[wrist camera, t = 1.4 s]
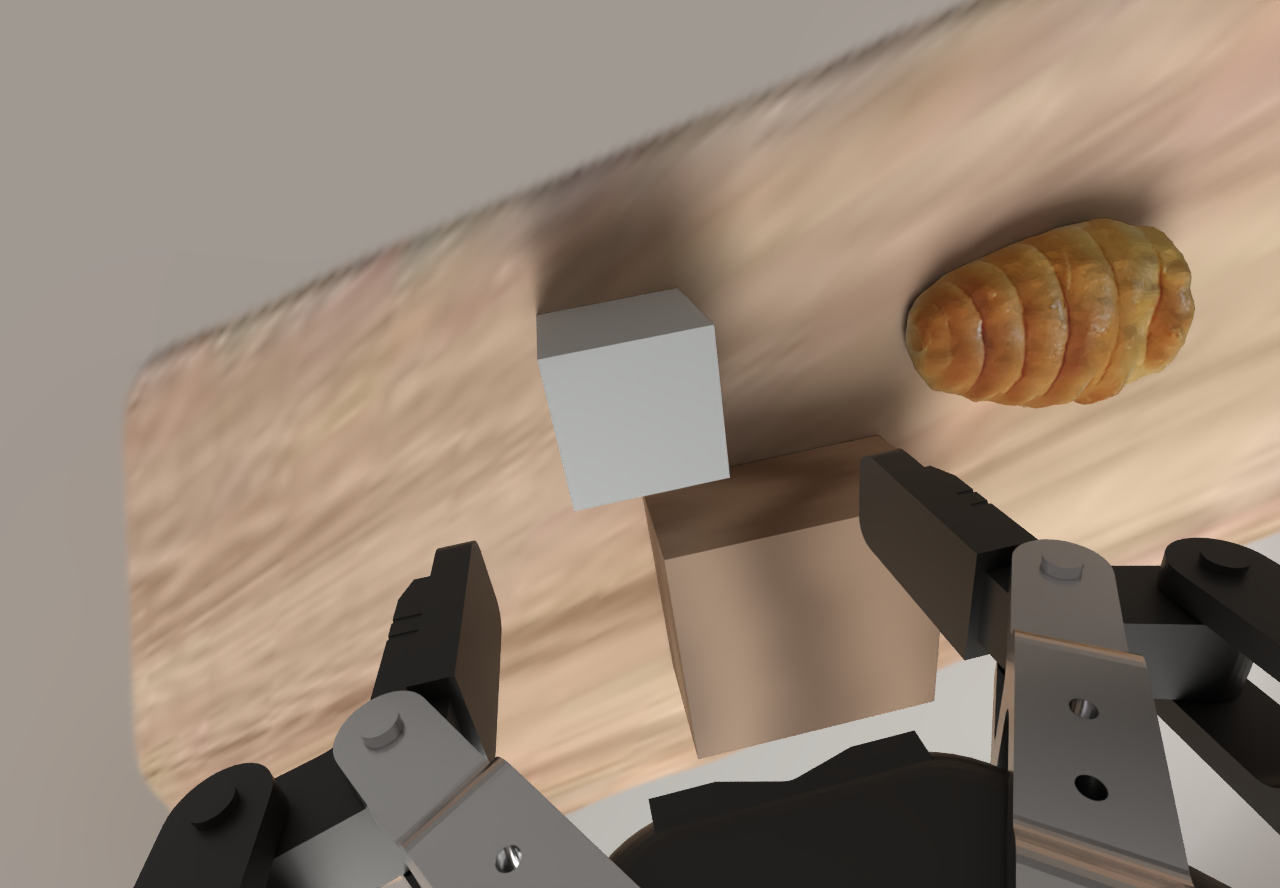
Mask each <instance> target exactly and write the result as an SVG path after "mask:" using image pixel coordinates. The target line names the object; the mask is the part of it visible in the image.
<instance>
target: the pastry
mask: <svg viewBox="0 0 1280 888" xmlns="http://www.w3.org/2000/svg"><path fill="white" fill-rule="evenodd" d="M1190 285H1191V272H1190V269H1189V267H1188V264H1187V263H1186V261H1185V259H1184V257H1183V254H1182V253H1181V252H1180V251H1179V250H1178V249H1177V248H1176V247H1175V246H1174V244H1173V242H1172V241H1171V240H1170V239H1169V238H1168V237H1167V236H1166V235H1165V233H1163V232H1162V231H1160V230H1158V229H1156V228H1154V227H1148V226H1134V225H1128V224H1126V223H1123V222H1120V221H1116V220H1112V219H1107V218H1102V219H1093V220H1090V221H1086V222H1082V223H1077V224H1072V225H1067V226H1062V227H1057V228H1055V229H1052V230H1049V231H1047V232H1045V233H1042V234H1040V235H1038V236H1034V237H1029V238H1027V239H1025V240H1022V241H1019V242H1016V243H1013V244H1010V245H1008V246H1006V247H1004V248H1002V249H1000V250H997V251H995V252H993V253H991V254H988V255H986V256H984V257H982V258H979V259H977V260H974V261H972V262H970V263H968V264H965V265H963V266H961V267H959V268H957V269H955V270H953V271H951V272H948V273H946V274H945V275H943V276H942V277H941V278H940V279H939V280H938V281H937V282H935V283H934V284H933V285H932V286H931V287H929V288H928V289H927V290H925V291H924V292H923V293H921V294H920V295H919V296H918V297H917V299H916V300H915V302H914V304H913V306H912V308H911V309H910V311H909V313H908V319H907V328H906V336H905V343H906V348H907V351H908V353H909V355H910V357H911V360H912V362H913V365H914V367H915V370H916V371H917V372H918V373H919V375H920V376H921V377H922V378H923V379H924V380H925V382H926V383H927V385H928V386H929V387H930V388H931V389H932V390H935V391H942V392H946V393H951V394H957V395H961V396H964V397H966V398H968V399H970V400H972V401H974V402H978V401H992V402H996V403H999V404H1004V405H1012V406H1016V405H1019V406H1022V407H1031V408H1042V407H1047V406H1051V405H1060V404H1066V403H1069V402H1071V401H1075V402H1076V403H1079V404H1092V403H1095V402H1098V401H1101V400H1104V399H1107V398H1109V397H1112V396H1114V395H1116V394H1118V393H1119V392H1120V391H1121V390H1122V388H1123V387H1124V385H1126V384H1128V383H1131V382H1133V381H1135V380H1137V379H1139V378H1141V377H1143V376H1146V375H1149V374H1153V373H1159V372H1160V371H1162V370H1163V369H1164V368H1165V367H1166V366H1167V365H1168V364H1169V363H1171V362H1172V361H1173V360H1174V358H1175V357H1176V356H1177V354H1178V352H1179V351H1180V349H1181V348H1182V346H1183V345H1184V343H1185V340H1186V337H1187V334H1188V331H1189V329H1190V326H1191V323H1192V320H1193V315H1194V311H1195V306H1194V300H1193V298H1192V294H1191V291H1190Z"/></svg>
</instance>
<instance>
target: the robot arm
mask: <svg viewBox="0 0 1280 888" xmlns="http://www.w3.org/2000/svg"><path fill="white" fill-rule="evenodd" d="M859 522H860V528H861V532H862V535H863V537H864V540H865V542H866V544H867V545H868V547H869V548H870V549H871V550H872V552H873V553H874V554H875V555H876V556H877V558H878V559H879V560H880V561H881V562H882V563H883V565H884V566H885V567H886V568H887V569H888V571H889V572H890V573H891V574H892V575H893V576H894V578H895V579H896V580H897V581H898V582H899V583H900V585H901V586H902V587H903V588H904V589H905V591H906V592H907V593H908V594H909V595H910V596H911V598H912V599H913V600H914V601H915V602H916V604H917V605H918V606H919V607H920V608H921V609H922V611H923V612H924V613H925V614H926V615H927V616H928V618H929V619H930V620H931V621H932V622H933V624H934V625H935V626H936V627H937V628H938V629H939V631H940V632H941V633H942V634H943V635H944V637H945V638H946V639H947V640H948V641H949V642H950V644H951V645H952V646H953V647H954V648H955V649H956V651H957V652H958V653H959V654H960V655H961V657H962V658H963V659H964V660H968V659H972V658H976V657H980V656H984V655H987V654H990V655H991V656H992V657H993V658H994V659H995V660H996V661H997V663H996V669H995V676H994V699H993V722H992V744H991V763H986V762H983V761H980V760H977V759H973V758H970V757H965V756H960V755H955V754H948V753H939V752H928V750H927V749H926V748H925V746H924V744H923V743H922V742H921V740H920V739H919V737H918V735H917V734H916V732H915V731H911V732H907V733H903V734H899V735H896V736H892V737H888V738H884V739H880V740H876V741H872V742H868V743H864V744H861V745H857V746H853V747H850V748H848V749H847V750H845V751H843V752H841V753H840V754H838V755H836V756H834V757H833V758H831V759H829V760H827V761H826V762H824V763H822V764H821V765H819V766H817V767H815V768H813V769H812V770H810V771H808V772H807V773H805V774H803V775H801V776H800V777H798V778H796V779H794V780H791V781H784V782H783V781H782V782H714V783H709V784H705V785H702V786H698V787H694V788H690V789H686V790H682V791H678V792H675V793H671V794H667V795H663V796H659V797H656V798H651V799H649V803H650V809H651V814H652V820H653V822H652V823H651V824H649V825H647V826H646V827H644V828H642V829H641V830H639V831H638V832H636V833H635V834H634V835H632V836H631V837H630V838H628V839H627V840H626V841H625V842H624V843H623V844H622V845H621V846H620V847H618V848H617V849H616V850H615V851H614V852H613V853H612V854H611V855H610V857H609V858H608V857H607V856H606V855H605V854H604V853H603V852H602V851H601V850H600V849H599V848H598V847H597V846H596V845H594V844H593V843H592V842H591V841H590V840H589V839H588V838H587V837H586V836H585V835H584V834H583V833H582V832H581V831H580V830H579V829H577V827H576V826H575V825H573V824H572V823H571V822H570V821H569V820H568V819H567V818H566V817H565V816H564V815H563V814H562V813H561V812H560V811H559V810H558V809H557V808H556V807H555V806H553V805H552V804H551V803H550V802H549V801H548V800H547V799H546V798H545V797H544V796H543V795H542V794H541V793H540V792H539V791H538V790H537V789H536V788H535V787H533V786H532V785H531V784H530V783H529V782H528V781H527V780H526V779H525V778H524V777H523V776H522V775H521V774H520V773H519V772H518V771H517V770H516V769H515V768H514V767H512V766H511V765H510V764H509V763H508V762H507V761H505V760H504V759H502V758H501V757H496V758H495V753H496V733H497V713H498V693H499V672H500V652H501V618H500V612H499V607H498V603H497V599H496V596H495V593H494V590H493V587H492V584H491V581H490V578H489V575H488V572H487V569H486V566H485V563H484V560H483V557H482V554H481V551H480V548H479V546H478V544H477V542H476V541H470V542H466V543H461V544H456V545H452V546H447V547H443V548H438V549H437V550H436V553H435V557H434V562H433V566H432V571H431V575H430V576H428V577H424V578H419V579H415V580H413V582H412V583H411V584H410V586H409V587H408V588H407V589H406V591H405V592H404V593H403V594H402V596H401V597H400V598H399V599H398V603H397V606H396V610H395V614H394V617H393V624H391V628H390V632H389V635H388V637H389V640H388V641H387V642H386V646H385V650H384V653H383V657H382V660H381V664H380V668H379V671H378V675H377V678H376V682H375V686H374V689H373V693H372V696H371V700H370V701H369V702H367V703H366V704H364V705H362V706H361V707H360V708H359V709H357V710H356V711H355V712H354V713H353V714H352V715H351V716H350V717H349V718H348V719H347V720H346V721H345V723H344V724H343V725H342V727H341V728H340V730H339V731H338V734H337V736H336V738H335V741H334V745H333V748H332V749H330V750H329V751H327V752H326V753H324V754H322V755H320V756H318V757H316V758H314V759H312V760H310V761H308V762H306V763H304V764H302V765H301V766H299V767H297V768H295V769H293V770H291V771H289V772H287V773H285V774H283V775H281V776H279V777H277V778H275V779H274V777H273V776H272V774H271V773H270V771H269V770H268V769H267V768H266V767H265V766H263V765H260V764H257V763H243V764H239V765H234V766H232V767H229V768H226V769H224V770H222V771H220V772H217V773H216V774H214V775H212V776H210V777H209V778H207V779H206V780H204V781H203V782H201V783H200V784H198V785H197V786H196V787H195V788H194V789H192V790H191V791H190V792H189V793H188V794H187V795H186V796H185V797H184V798H183V799H182V800H181V801H180V802H179V803H178V804H177V805H176V806H175V808H174V809H173V810H172V812H171V813H170V814H169V816H168V817H167V819H166V821H165V823H164V825H163V826H162V829H161V831H160V833H159V835H158V837H157V839H156V841H155V843H154V845H153V848H152V850H151V852H150V854H149V856H148V858H147V860H146V862H145V865H144V867H143V869H142V871H141V873H140V875H139V877H138V879H137V881H136V884H135V886H134V888H381V887H382V886H384V885H386V884H387V883H389V882H391V881H392V880H394V879H396V878H397V877H399V876H401V877H402V878H403V879H404V881H405V882H406V884H407V885H408V887H409V888H1231V887H1229V886H1227V885H1225V884H1224V883H1222V882H1220V881H1218V880H1216V879H1214V878H1212V877H1210V876H1208V875H1206V874H1204V873H1202V872H1201V871H1199V870H1197V869H1195V868H1193V867H1191V866H1189V865H1188V863H1187V858H1186V853H1185V848H1184V843H1183V839H1182V834H1181V829H1180V824H1179V819H1178V814H1177V809H1176V805H1175V800H1174V795H1173V791H1172V785H1171V780H1170V776H1169V771H1168V766H1167V761H1166V756H1165V752H1164V746H1163V742H1162V737H1161V732H1160V727H1159V722H1158V717H1157V715H1158V716H1159V717H1160V718H1161V719H1162V720H1163V721H1164V722H1165V723H1166V724H1167V725H1168V726H1169V727H1170V728H1171V729H1172V730H1174V731H1175V732H1176V733H1177V734H1178V735H1179V736H1180V737H1181V738H1182V739H1183V740H1184V741H1185V742H1186V743H1187V744H1188V745H1189V746H1190V747H1191V748H1192V749H1193V750H1194V751H1195V752H1196V753H1197V754H1198V755H1199V756H1200V757H1201V758H1202V759H1203V760H1204V761H1205V762H1206V763H1207V764H1208V765H1209V766H1210V767H1211V768H1212V769H1213V770H1214V771H1215V772H1216V773H1217V774H1218V775H1219V776H1220V777H1221V778H1222V779H1223V780H1224V781H1226V783H1227V784H1229V785H1230V787H1232V788H1233V789H1234V790H1235V791H1236V792H1237V793H1238V794H1239V795H1240V796H1241V797H1242V798H1243V799H1244V800H1245V801H1246V802H1247V803H1248V804H1249V805H1250V806H1251V807H1252V808H1253V809H1254V810H1255V811H1256V812H1257V813H1258V814H1259V815H1260V816H1261V817H1262V818H1263V819H1264V820H1265V821H1266V822H1267V823H1268V824H1269V825H1270V826H1271V827H1272V828H1273V829H1274V830H1275V831H1276V832H1277V833H1279V835H1280V705H1279V704H1278V703H1277V702H1275V701H1274V700H1273V699H1272V698H1270V697H1269V696H1268V695H1267V694H1265V693H1264V692H1263V691H1262V690H1260V689H1259V688H1258V687H1257V686H1255V685H1254V684H1253V683H1251V682H1250V681H1249V680H1248V679H1247V676H1248V674H1249V672H1250V669H1251V667H1252V664H1253V662H1254V663H1255V664H1257V665H1258V666H1260V668H1262V669H1263V670H1264V671H1266V672H1267V673H1268V674H1270V675H1271V676H1272V677H1273V678H1275V679H1276V680H1277V681H1279V682H1280V565H1279V564H1277V563H1276V562H1274V561H1272V560H1271V559H1269V558H1267V557H1266V556H1264V555H1262V554H1260V553H1258V552H1256V551H1254V550H1252V549H1249V548H1247V547H1244V546H1241V545H1238V544H1235V543H1231V542H1227V541H1223V540H1217V539H1210V538H1186V539H1181V540H1177V541H1175V542H1173V543H1171V544H1170V545H1168V546H1167V548H1166V550H1165V553H1164V556H1163V560H1162V563H1161V566H1111V565H1110V564H1109V563H1108V562H1107V561H1106V560H1105V559H1104V558H1103V557H1102V556H1100V555H1099V554H1097V553H1095V552H1094V551H1092V550H1090V549H1088V548H1086V547H1083V546H1080V545H1077V544H1074V543H1070V542H1066V541H1060V540H1047V539H1043V540H1038V539H1036V538H1035V537H1034V536H1033V535H1031V534H1030V533H1029V532H1027V531H1026V530H1025V529H1024V528H1022V527H1021V526H1020V525H1018V524H1017V523H1016V522H1014V521H1013V520H1012V519H1011V518H1009V517H1008V516H1007V515H1005V514H1004V513H1003V512H1002V511H1000V510H999V509H998V508H996V507H995V506H994V505H993V504H991V503H990V504H988V502H987V500H986V499H985V498H984V497H982V496H981V495H980V494H978V493H977V492H973V489H972V488H971V487H969V486H968V485H967V484H965V483H964V482H963V481H962V480H960V479H959V478H958V477H956V476H955V475H952V474H950V473H947V472H945V471H942V470H940V469H937V468H935V467H932V466H927V467H924V466H922V465H921V464H920V463H919V462H917V461H916V460H915V459H914V458H913V457H911V456H910V455H909V454H908V453H906V452H905V451H904V450H902V449H894V450H889V451H885V452H880V453H876V454H871V455H866V456H864V457H863V458H862V459H861V462H860V477H859Z"/></svg>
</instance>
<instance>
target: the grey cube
mask: <svg viewBox="0 0 1280 888" xmlns="http://www.w3.org/2000/svg"><path fill="white" fill-rule="evenodd" d="M536 321H537V360H538V364H539V368H540V373H541V377H542V381H543V385H544V389H545V393H546V397H547V402H548V406H549V410H550V414H551V418H552V422H553V426H554V430H555V435H556V439H557V443H558V447H559V451H560V455H561V459H562V464H563V468H564V472H565V476H566V480H567V484H568V488H569V493H570V497H571V501H572V505H573V509H574V511H578V510H583V509H587V508H592V507H596V506H601V505H606V504H610V503H615V502H620V501H624V500H629V499H633V498H638V497H643V496H647V495H652V494H657V493H661V492H666V491H670V490H675V489H680V488H684V487H689V486H693V485H698V484H703V483H707V482H712V481H717V480H721V479H726V478H730V474H729V464H728V455H727V445H726V435H725V426H724V416H723V406H722V397H721V387H720V377H719V368H718V358H717V348H716V339H715V329H714V324H713V323H712V322H711V321H710V320H709V319H708V318H707V317H706V316H705V315H704V314H703V313H702V312H701V311H700V310H699V309H698V308H697V307H696V306H695V305H694V304H693V303H692V302H691V301H690V300H689V299H688V298H687V297H686V296H685V295H684V294H683V293H682V292H681V291H680V290H679V289H678V288H675V289H670V290H665V291H660V292H654V293H649V294H644V295H639V296H634V297H629V298H623V299H618V300H613V301H608V302H603V303H598V304H592V305H587V306H582V307H577V308H572V309H567V310H561V311H556V312H551V313H546V314H541V315H536Z"/></svg>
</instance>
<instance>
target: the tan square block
mask: <svg viewBox="0 0 1280 888" xmlns="http://www.w3.org/2000/svg"><path fill="white" fill-rule="evenodd" d="M894 449H895V448H893V447H892V446H891V445H890V444H889V443H887V442H886V441H885V440H884V439H883V438H881V437H880V436H879V435H876V436H872V437H867V438H862V439H858V440H853V441H848V442H844V443H839V444H834V445H830V446H825V447H820V448H816V449H811V450H806V451H802V452H797V453H793V454H788V455H783V456H779V457H774V458H769V459H765V460H760V461H755V462H751V463H746V464H741V465H737V466H732V467H729V474H730V478H726V479H721V480H717V481H712V482H707V483H703V484H698V485H693V486H689V487H684V488H680V489H675V490H670V491H666V492H661V493H657V494H652V495H647V496H643V501H644V506H645V512H646V517H647V523H648V528H649V534H650V539H651V545H652V550H653V556H654V562H655V567H656V573H657V578H658V584H659V589H660V595H661V600H662V606H663V611H664V617H665V623H666V628H667V634H668V639H669V645H670V650H671V656H672V661H673V667H674V670H675V674H676V678H677V682H678V685H679V689H680V693H681V697H682V700H683V704H684V708H685V712H686V715H687V719H688V723H689V726H690V730H691V734H692V738H693V741H694V745H695V749H696V753H697V756H698V759H702V758H706V757H710V756H714V755H718V754H722V753H726V752H730V751H734V750H738V749H742V748H746V747H750V746H754V745H758V744H762V743H766V742H770V741H774V740H778V739H782V738H786V737H790V736H795V735H798V734H803V733H807V732H810V731H815V730H818V729H823V728H827V727H831V726H835V725H839V724H843V723H847V722H851V721H855V720H859V719H863V718H867V717H871V716H875V715H880V714H883V713H888V712H892V711H896V710H900V709H904V708H908V707H912V706H916V705H920V704H924V703H928V702H932V701H934V696H935V683H936V672H937V660H938V648H939V636H940V631H939V629H938V628H937V627H936V626H935V625H934V624H933V622H932V621H931V620H930V619H929V618H928V616H927V615H926V614H925V613H924V612H923V611H922V609H921V608H920V607H919V606H918V605H917V604H916V602H915V601H914V600H913V599H912V598H911V596H910V595H909V594H908V593H907V592H906V591H905V589H904V588H903V587H902V586H901V585H900V583H899V582H898V581H897V580H896V579H895V578H894V576H893V575H892V574H891V573H890V572H889V571H888V569H887V568H886V567H885V566H884V565H883V563H882V562H881V561H880V560H879V559H878V558H877V556H876V555H875V554H874V553H873V552H872V550H871V549H870V548H869V547H868V545H867V544H866V542H865V540H864V537H863V535H862V532H861V528H860V522H859V477H860V462H861V459H862V458H863V457H864V456H866V455H871V454H876V453H880V452H885V451H889V450H894Z"/></svg>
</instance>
